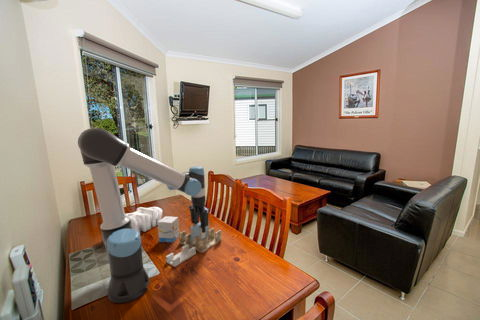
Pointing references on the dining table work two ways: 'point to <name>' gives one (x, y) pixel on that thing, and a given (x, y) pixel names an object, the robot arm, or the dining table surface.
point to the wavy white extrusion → (145, 218)
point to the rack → (203, 244)
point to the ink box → (168, 229)
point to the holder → (180, 256)
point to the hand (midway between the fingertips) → (200, 236)
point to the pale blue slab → (198, 231)
